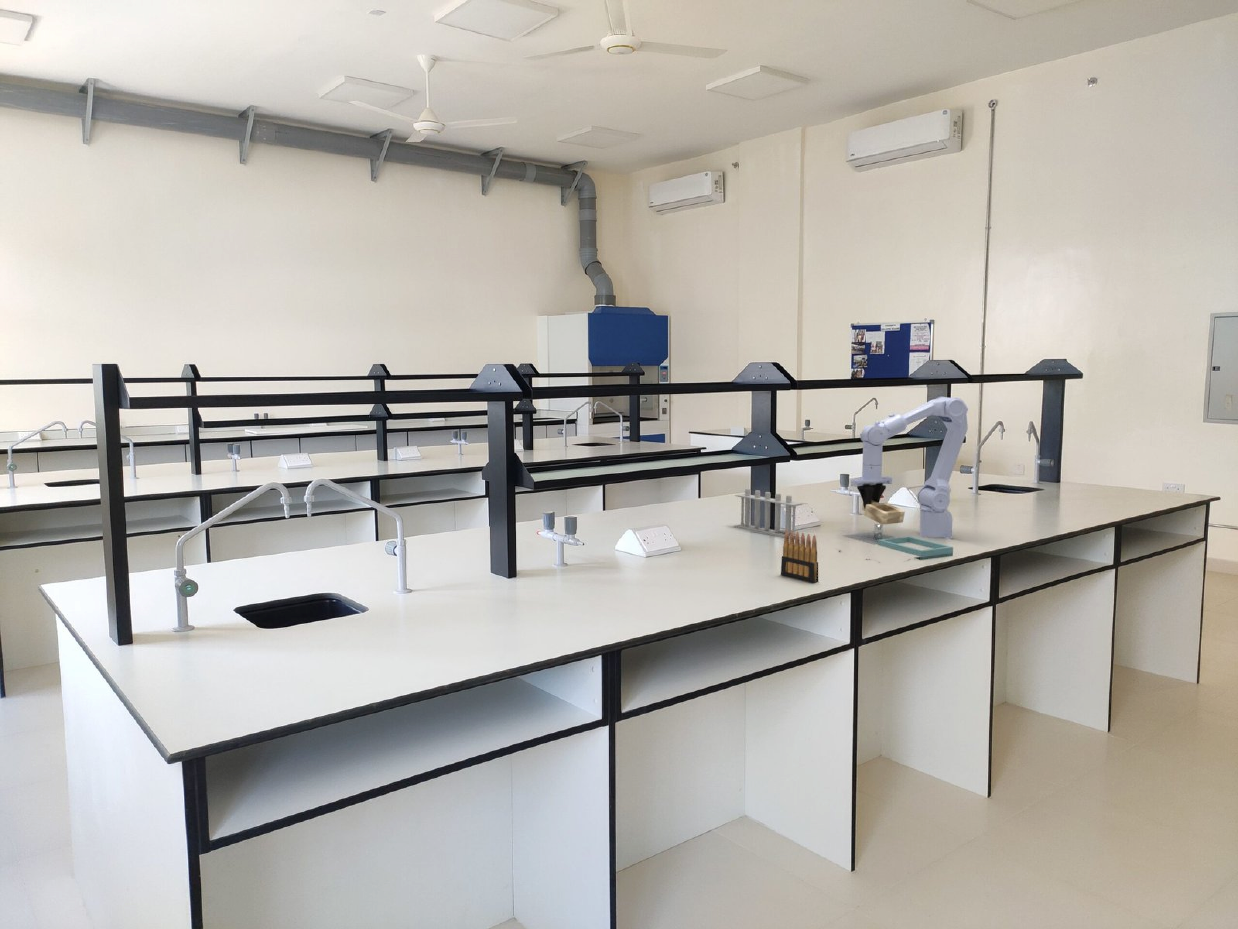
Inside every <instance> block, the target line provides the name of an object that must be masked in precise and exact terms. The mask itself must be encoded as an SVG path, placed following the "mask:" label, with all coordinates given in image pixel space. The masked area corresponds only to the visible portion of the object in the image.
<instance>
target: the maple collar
mask: <svg viewBox="0 0 1238 929" xmlns="http://www.w3.org/2000/svg"><path fill="white" fill-rule="evenodd" d="M861 510H862V511H864V517H867V518H869V519H870V520H873V521H875V522H876V523H877V524H882V525H891V524H892V525H893V524H901V523H904V518H905V514H906V512H905V510H903V509H900V508H898V507H896V506H894V505H893V504H890V503H888V502H881V503H880V502H879V503H877V502H875V501H873V500H871V504H866V508H864V505H863V504H862V506H861Z"/></svg>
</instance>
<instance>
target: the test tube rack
mask: <svg viewBox="0 0 1238 929" xmlns="http://www.w3.org/2000/svg"><path fill="white" fill-rule="evenodd" d="M761 493H762V492H761V490H757V489H756V490H755V491H754V494H753V495H752V494H751V488H745V491H744V493H740V494H735V497H737V498H740V499H741V503H740V504H741V507H740V508H741V512H740V516H741V518H740V519H741V520H740V523H739V524H736V525H734V528H735V527H737V529H740V530H746V531H749V532H750V531H751V532H755V533H760V534H764V535H768V536H769V535H770V536H772V537H773V536H774V537H777V538H783V539H784V536H785V532H782V531H781V518H782V516H781V514H782V512H781V511H782V507H781V506H782V505H784V506H785V525H784V526H785V527H784V528H785V529H784V530H785V531H786V530H788V534H789V540H790V534H791V531H793V533H794V540H795V536H796V508H797V506H801V505H803V503H802V502H794V501H792V500H793V497H792V495H789V494H788V495H785V499H782V494H781V493H776V494H775V495H774V497H775V498H771V496H772V495H771V492H770V491H765V493H764V496H761ZM751 500H754V520H753V521H754V523H753V524H754V525H752V524H751ZM761 502H764V527H762V528H760V527H761V525H760V523H761ZM771 503H772V504H775V505H774V529H771V528H770V527H771ZM799 538H800V539H801V536H799Z"/></svg>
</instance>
